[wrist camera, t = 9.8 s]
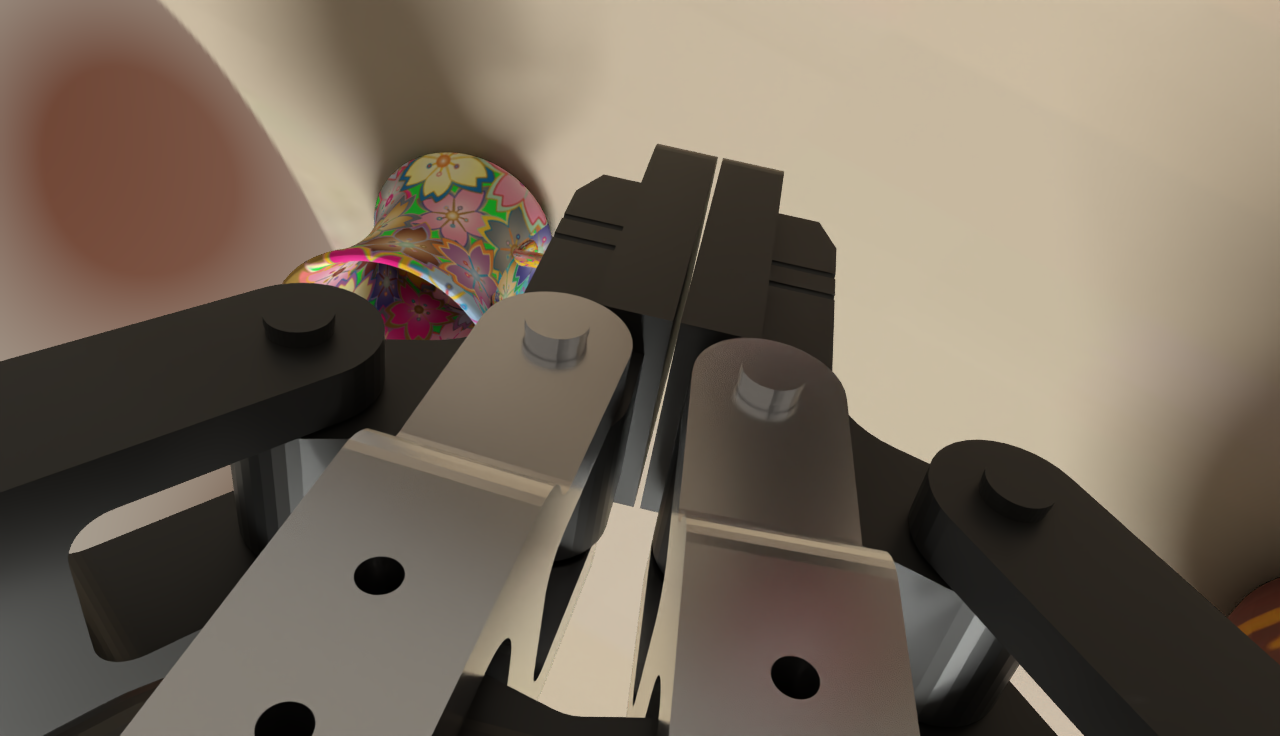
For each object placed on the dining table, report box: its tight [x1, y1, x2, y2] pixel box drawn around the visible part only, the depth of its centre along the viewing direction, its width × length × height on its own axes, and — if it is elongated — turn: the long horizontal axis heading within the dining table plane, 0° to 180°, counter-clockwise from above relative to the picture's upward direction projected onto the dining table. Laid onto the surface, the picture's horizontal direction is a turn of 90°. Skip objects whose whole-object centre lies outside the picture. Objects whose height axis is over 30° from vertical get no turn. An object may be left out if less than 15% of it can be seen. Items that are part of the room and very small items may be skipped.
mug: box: [282, 152, 552, 340], centre depth 42 cm, size 12×9×11 cm
